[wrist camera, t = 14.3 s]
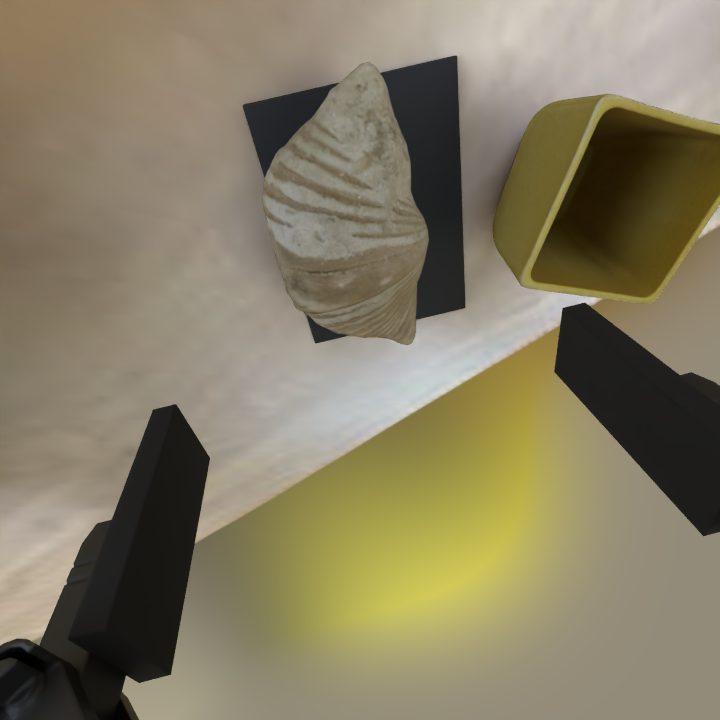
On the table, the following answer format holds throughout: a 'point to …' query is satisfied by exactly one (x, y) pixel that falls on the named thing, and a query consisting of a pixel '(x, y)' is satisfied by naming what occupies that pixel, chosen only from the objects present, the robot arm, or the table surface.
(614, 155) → the flower pot
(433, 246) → the mat
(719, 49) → the table surface
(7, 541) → the table surface
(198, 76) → the table surface
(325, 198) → the seashell
